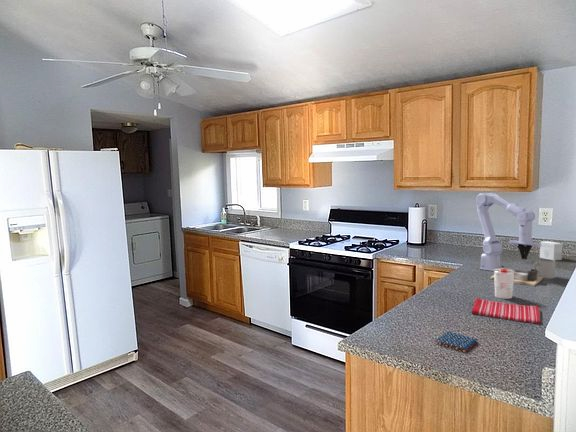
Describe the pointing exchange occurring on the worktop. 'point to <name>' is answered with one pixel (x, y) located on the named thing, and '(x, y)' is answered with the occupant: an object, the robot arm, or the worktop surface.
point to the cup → (546, 268)
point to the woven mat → (456, 341)
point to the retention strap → (517, 270)
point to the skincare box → (551, 250)
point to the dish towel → (507, 311)
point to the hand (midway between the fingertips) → (524, 259)
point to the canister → (503, 282)
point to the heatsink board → (525, 277)
